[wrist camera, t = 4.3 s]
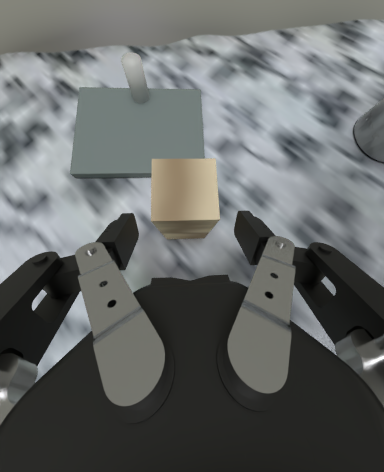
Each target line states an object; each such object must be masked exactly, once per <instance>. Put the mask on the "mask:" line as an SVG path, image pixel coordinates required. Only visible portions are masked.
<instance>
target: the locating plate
mask: <svg viewBox="0 0 384 472" xmlns="http://www.w3.org/2000/svg"><path fill="white" fill-rule="evenodd" d="M121 62H122V65H123V68H124V72H125V75H126V78H127V81H128V84H129V87H130V88H89V87H80V88H79V97H78V106H77V115H76V124H75V133H74V142H73V151H72V160H71V170H70V174H71V175H72V176H74V177H75V178H124V177H152V159H205V156H204V139H203V122H202V104H201V90H197V89H148V88H147V84H146V79H145V75H144V70H143V66H142V61H141V58H140V56H139V55H138V54H136V53H126V54H125V55H123V56H122V58H121Z"/></svg>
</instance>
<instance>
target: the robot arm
mask: <svg viewBox="0 0 384 472" xmlns="http://www.w3.org/2000/svg"><path fill="white" fill-rule="evenodd" d="M354 133H355V138H356V141H357V143H358V145H359V146H360V148H361V149H362V150H363V151H364V152H365V153H366V154H367V155H369V156H370V157H372V158H374V159H375V160H378V161H381V162H384V99H382V100H381V101H380V102H379V103H378V104H376V105H375V106H374V107H373V108H371V109H370V110H369V111H368V112H367V113H365V114H364V115H363V116H362V117H360V118H359V119H358V121H357V122H356V125H355V129H354ZM234 234H235V237H236V238H237V240H238V242H239V244H240V246H241V248H242V250H243V252H244V254H245V256H246V258H247V260H248V261H249V263H250V265H258V266H257V268H256V271H255V273H254V276H253V278H252V281H251V283H250V286H249V288H247V287H246V286H244V285H242V284H239V283H237V282H233V281H230V280H229V277H228V275H213V276H207V277H203V278H199V279H196V280H192V281H188V280H183V279H177V278H152V281H151V285H148V286H145V287H143V288H141V289H139V290H137V291H135V292H134V293H132V291H131V289H130V288H129V286H128V284H127V282H126V281H125V279H124V277H123V276H122V274H121V272H120V270H125V269H126V267H127V264H128V262H129V260H130V257H131V255H132V252H133V250H134V247H135V245H136V243H137V240H138V237H139V232H138V228H137V224H136V220H135V216H134V214H133V213H124V214H121V216H120V217H119V218H118V220H115V221H113V222H112V223H110V224H109V225H108V227H107V228H106V229H105V230H104V232H103V233H102V234H101V235H100V237H99V238H98V239H97V240H96V242H94V243H89V244H86V245H84V246H82V247H81V248H79V249H78V250H77V251H76V253H75V255H72V256H68V257H63V258H60V257H59V255H58V254H57V253H56V252H45V253H41V254H38V255H36V256H34V257H32V258H30V259H29V260H27V261H26V262H25V263H24V264H23V265H21V266H20V267H19V268H18V269H17V270H16V271H15V272H14V273H12V274H11V275H10V276H9V277H8V278H7V279H6V280H5V281H3V282H2V283H1V284H0V472H384V288H383V287H382V286H381V285H380V284H379V283H377V282H376V281H375V280H374V279H372V278H371V277H370V276H369V275H367V274H366V273H365V272H364V271H362V270H361V269H360V268H359V267H358V266H356V265H355V264H354V263H353V262H351V261H350V260H349V259H348V258H346V257H345V256H344V255H343V254H341V253H340V252H339V251H338V250H336V249H335V248H333V247H331V246H329V245H327V244H324V243H318V242H314V243H311V244H310V245H309V247H308V249H305V248H299V247H295V246H294V244H293V243H292V242H291V241H290V240H288V239H286V238H283V237H279V236H275V235H274V233H273V232H272V231H271V230H270V229H269V228H268V227H267V226H266V225H265V224H264V223H263V221H262V220H260V219H259V218H257V217H254V216H253V215H252V213H251V212H250V211H238V213H237V217H236V222H235V227H234ZM325 276H326V277H327V278H328V279H329V280H330V281H331V282H332V283H333V284H334V286H335V288H336V294H335V296H333V295H332V293H331V292H330V291H329V290H328V289H327V288H326V286H325V285H324V284H323V283H322V282H321V280H322V279H323V278H324V277H325ZM294 285H295V287H296V288H297V290H298V291H299V293H300V294H301V296H302V297H303V298H304V300H305V301H306V303H307V304H308V306H309V307H310V309H311V310H312V312H313V313H314V315H315V316H316V318H317V319H318V321H319V322H320V324H321V325H322V327H323V328H324V330H325V331H326V333H327V334H328V336H329V337H330V339H331V340H332V342H333V343H334V345H335V351H336V354H337V355H335V354H334V353H333V352H331V351H330V350H329V349H327V348H326V347H325V346H323V345H322V344H321V343H320V342H318V341H317V340H316V339H314V338H313V337H312V336H310V335H309V334H308V333H307V332H305V331H304V330H303V329H301V328H300V327H299V326H297V325H296V324H295V323H293V322H292V321H291V320H290V312H291V304H292V295H293V286H294ZM42 289H43V290H44V291H45V292H46V293H47V295H46V296H45V297H44V298H43V300H42V301H41V302H40V304H39V305H38V306H37V308H36V309H35V310H34V311H33V310H32V302H33V300H34V299H35V297H36V296H37V295H38V294H39V293H40V291H41V290H42ZM80 291H82V295H83V298H84V302H85V306H86V310H87V313H88V317H89V321H90V325H91V328H92V331H91V332H90V333H89V334H88V335H87V336H86V337H84V338H83V339H82V340H81V341H80V342H79V343H78V344H77V345H76V346H75V347H74V348H73V349H72V350H70V351H69V352H68V353H67V354H66V355H65V356H64V357H63V358H62V359H61V360H60V361H59V362H57V363H56V364H55V365H54V366H53V367H52V368H51V369H50V370H49V371H48V372H47V373H46V374H44V375H43V376H42V377H41V378H40V379H39V380H38V381H37V382H36V383H35V381H36V378H37V375H38V368H37V366H38V364H39V362H40V360H41V359H42V357H43V355H44V353H45V352H46V350H47V348H48V346H49V345H50V343H51V341H52V339H53V338H54V336H55V334H56V332H57V331H58V329H59V327H60V325H61V324H62V322H63V320H64V318H65V317H66V315H67V313H68V311H69V310H70V308H71V306H72V304H73V303H74V301H75V299H76V297H77V296H78V294H79V292H80Z"/></svg>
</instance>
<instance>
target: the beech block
mask: <svg viewBox="0 0 384 472" xmlns="http://www.w3.org/2000/svg"><path fill="white" fill-rule="evenodd" d="M219 220H220V214H219V201H218V187H217V173H216V159H152V179H151V222H152V223H153V224H154V225H155V226H156V227H157V229H158V230H159V231H160V232H161V233H162V234H163V235H164V237H165V238H166V239H194V238H205V237H206V236H207V234H208V233H209V232H210V231H211V230H212V228H213V227H214V226H215V225H216V224H217V222H218V221H219Z"/></svg>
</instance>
